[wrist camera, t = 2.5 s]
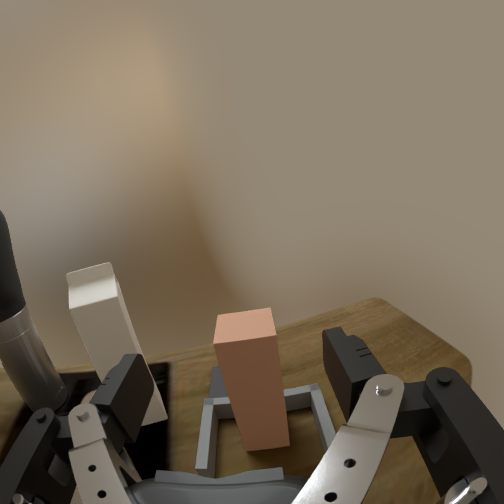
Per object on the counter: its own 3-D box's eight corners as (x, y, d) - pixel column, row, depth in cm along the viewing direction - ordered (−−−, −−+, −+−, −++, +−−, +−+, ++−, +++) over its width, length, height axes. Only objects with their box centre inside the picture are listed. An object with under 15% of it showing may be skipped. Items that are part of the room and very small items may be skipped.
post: (246, 451, 25) (213, 343, 21) (245, 421, 29) (217, 315, 25) (290, 445, 25) (276, 335, 21) (284, 416, 29) (270, 307, 25)
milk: (168, 419, 30) (110, 267, 25) (129, 429, 28) (59, 281, 22) (160, 393, 36) (112, 256, 30) (124, 403, 33) (69, 268, 28)
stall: (203, 480, 21) (195, 468, 20) (210, 413, 31) (204, 398, 31) (339, 463, 21) (341, 450, 20) (318, 398, 31) (317, 383, 31)
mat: (208, 408, 32) (207, 405, 32) (213, 369, 41) (212, 366, 41) (274, 401, 32) (274, 398, 32) (268, 362, 41) (268, 360, 41)
